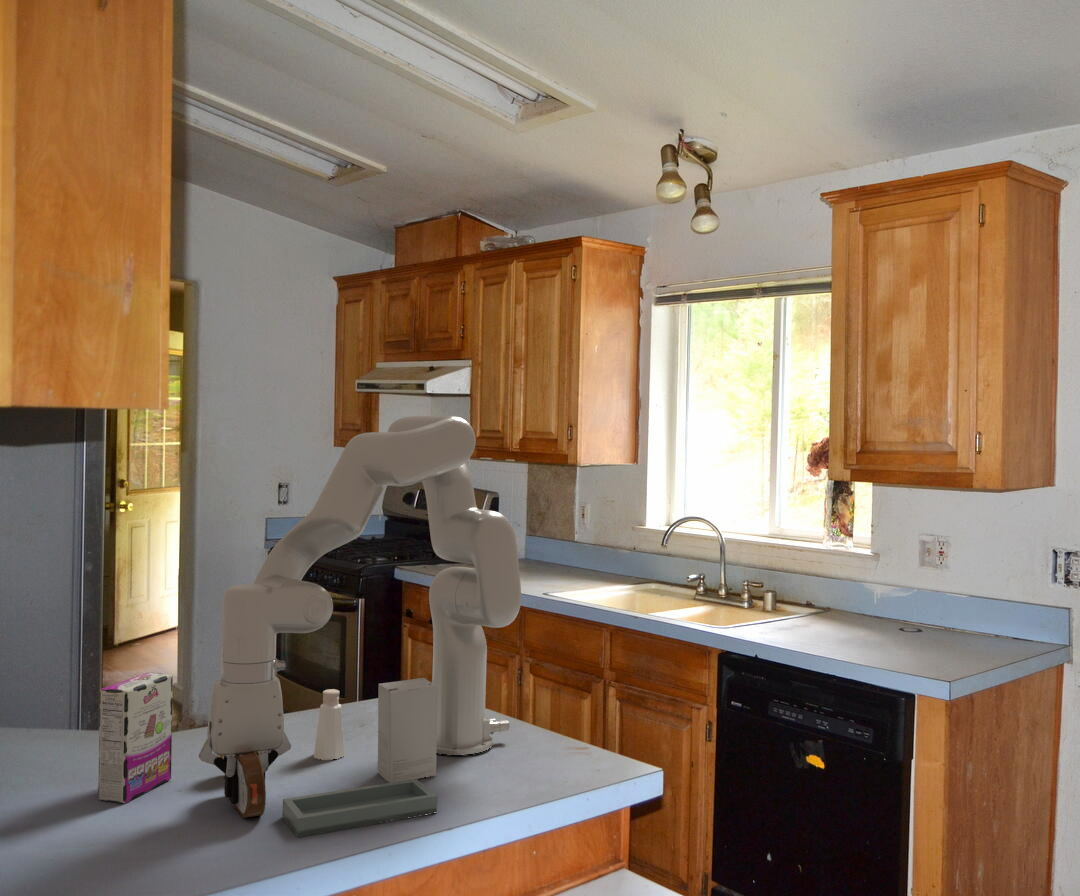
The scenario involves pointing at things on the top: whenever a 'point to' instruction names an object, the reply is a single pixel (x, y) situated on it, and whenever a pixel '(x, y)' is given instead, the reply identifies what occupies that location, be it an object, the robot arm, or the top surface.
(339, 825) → the tray
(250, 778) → the tin
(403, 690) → the skincare box
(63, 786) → the top surface
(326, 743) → the pepper shaker
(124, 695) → the candy bar box
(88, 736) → the top surface
